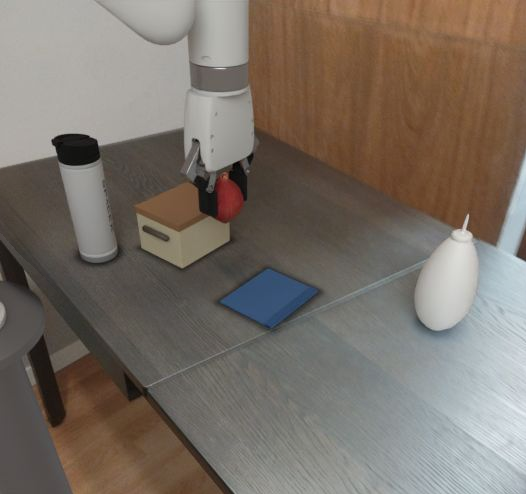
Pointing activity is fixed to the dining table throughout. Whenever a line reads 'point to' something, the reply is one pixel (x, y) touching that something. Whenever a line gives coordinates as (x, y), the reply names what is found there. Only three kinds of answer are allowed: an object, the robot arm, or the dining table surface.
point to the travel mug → (87, 196)
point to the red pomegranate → (227, 198)
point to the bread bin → (179, 226)
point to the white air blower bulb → (448, 281)
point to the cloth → (269, 297)
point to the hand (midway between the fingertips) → (223, 205)
